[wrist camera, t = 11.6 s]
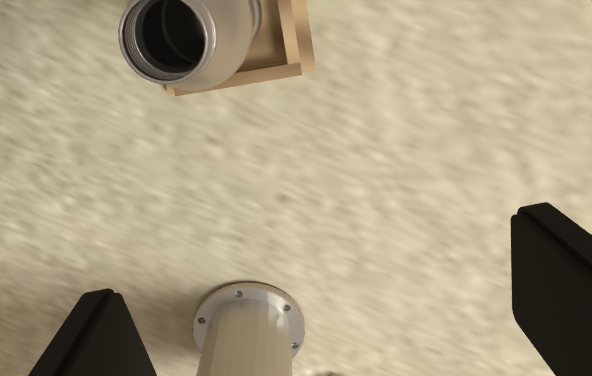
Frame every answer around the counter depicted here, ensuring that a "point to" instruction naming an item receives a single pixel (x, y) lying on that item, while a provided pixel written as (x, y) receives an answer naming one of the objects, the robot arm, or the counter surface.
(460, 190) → the counter surface
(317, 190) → the counter surface
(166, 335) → the counter surface
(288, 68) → the oak caddy
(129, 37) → the plastic bottle
